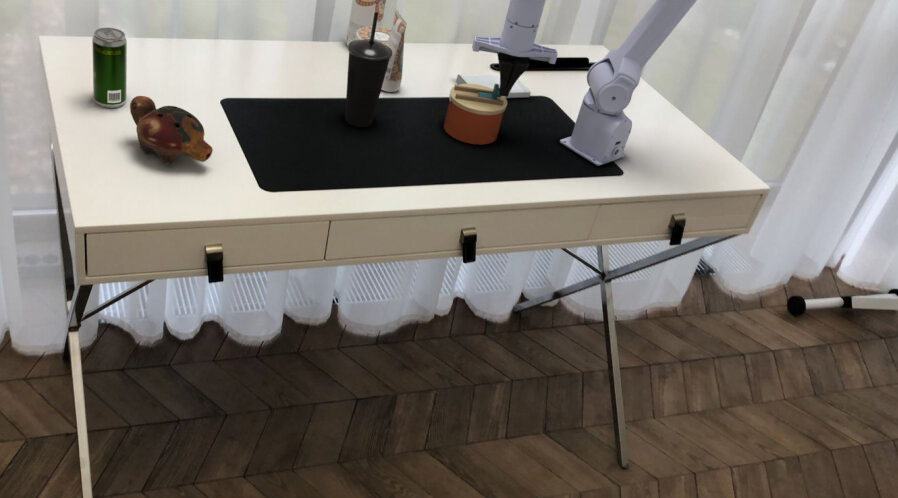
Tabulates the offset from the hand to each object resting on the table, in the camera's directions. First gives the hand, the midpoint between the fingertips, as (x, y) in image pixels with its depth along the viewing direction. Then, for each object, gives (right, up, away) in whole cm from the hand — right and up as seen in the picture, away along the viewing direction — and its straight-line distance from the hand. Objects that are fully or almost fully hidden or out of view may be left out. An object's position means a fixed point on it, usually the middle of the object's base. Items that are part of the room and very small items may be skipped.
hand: (503, 93), depth 173 cm
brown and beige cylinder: (-5, -6, +5) cm, 9 cm away
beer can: (-67, -3, -8) cm, 68 cm away
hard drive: (0, +5, +20) cm, 21 cm away
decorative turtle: (-55, -14, -18) cm, 60 cm away
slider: (-3, -1, 0) cm, 3 cm away
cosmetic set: (-23, +9, +20) cm, 32 cm away
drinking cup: (-26, -5, +1) cm, 26 cm away
